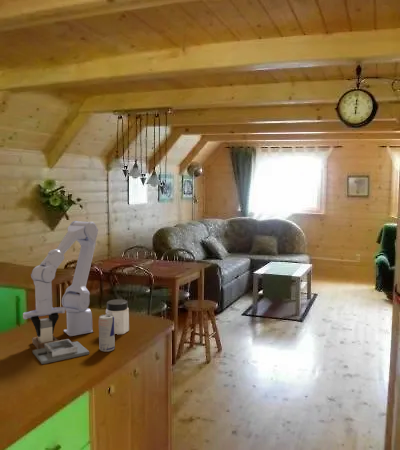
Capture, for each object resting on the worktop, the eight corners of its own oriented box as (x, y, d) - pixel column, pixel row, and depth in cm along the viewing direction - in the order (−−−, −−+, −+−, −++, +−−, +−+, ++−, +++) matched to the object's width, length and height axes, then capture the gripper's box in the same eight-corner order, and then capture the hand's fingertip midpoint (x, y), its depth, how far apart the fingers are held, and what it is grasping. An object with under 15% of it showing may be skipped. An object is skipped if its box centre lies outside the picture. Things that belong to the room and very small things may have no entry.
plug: (49, 341, 174) (48, 317, 173) (52, 345, 170) (52, 321, 169) (38, 343, 171) (37, 319, 171) (41, 347, 167) (40, 323, 166)
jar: (106, 335, 180) (105, 305, 179) (105, 329, 188) (105, 299, 187) (129, 333, 182) (129, 303, 181) (128, 327, 190) (127, 298, 189)
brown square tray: (52, 339, 176) (51, 334, 176) (58, 345, 169) (58, 340, 169) (32, 343, 172) (32, 337, 172) (38, 349, 165) (38, 344, 165)
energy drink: (117, 347, 167) (116, 315, 166) (109, 352, 162) (109, 319, 161) (104, 345, 169) (103, 313, 168) (96, 350, 164) (95, 317, 163)
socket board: (77, 343, 171) (77, 336, 171) (89, 354, 161) (88, 345, 161) (32, 352, 162) (32, 344, 162) (42, 364, 152) (41, 355, 152)
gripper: (60, 293, 176) (61, 328, 177) (20, 298, 168) (21, 335, 169) (66, 297, 170) (67, 333, 172) (25, 303, 162) (26, 341, 164)
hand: (45, 334), depth 170 cm, fingers closed on plug, 4 cm apart
